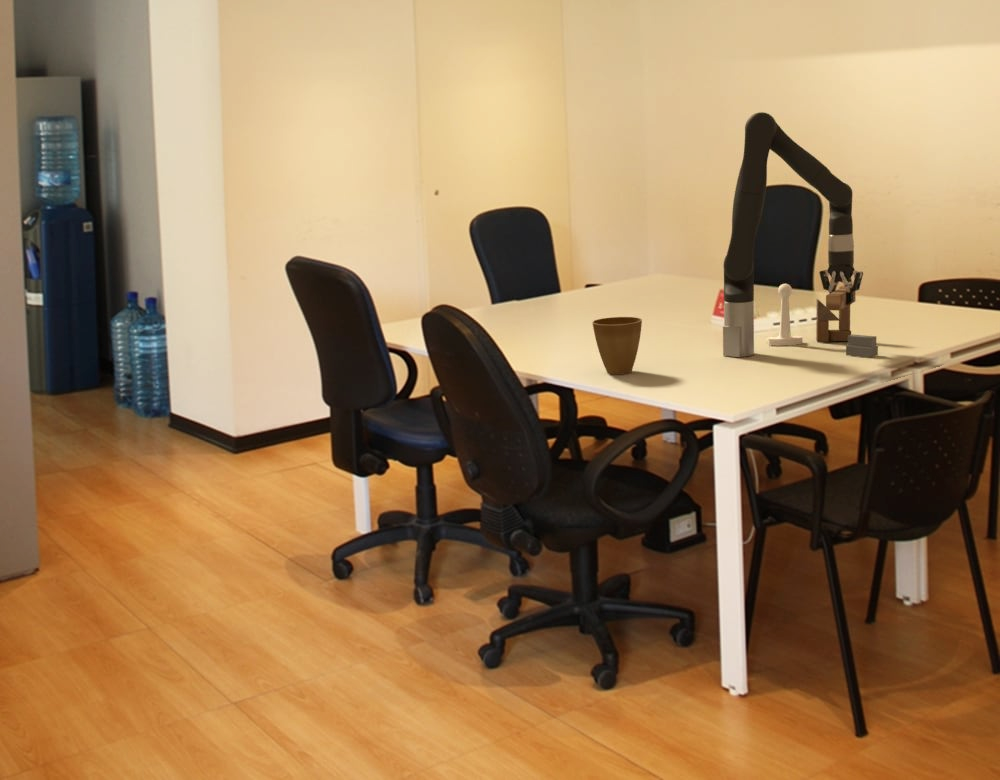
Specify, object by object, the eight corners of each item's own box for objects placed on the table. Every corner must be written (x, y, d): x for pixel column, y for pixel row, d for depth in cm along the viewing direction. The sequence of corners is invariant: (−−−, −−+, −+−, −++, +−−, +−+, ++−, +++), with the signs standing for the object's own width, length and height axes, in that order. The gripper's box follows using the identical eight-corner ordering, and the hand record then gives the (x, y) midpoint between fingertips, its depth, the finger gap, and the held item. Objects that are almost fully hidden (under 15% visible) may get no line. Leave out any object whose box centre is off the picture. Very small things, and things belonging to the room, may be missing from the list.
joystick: (770, 346, 407) (769, 285, 402) (764, 342, 414) (763, 282, 410) (803, 344, 407) (803, 283, 403) (797, 340, 414) (797, 280, 410)
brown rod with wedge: (816, 340, 412) (816, 286, 408) (849, 340, 411) (850, 285, 407) (817, 342, 409) (817, 288, 405) (851, 342, 407) (851, 287, 403)
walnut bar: (839, 310, 376) (839, 295, 375) (826, 310, 378) (825, 295, 377) (855, 301, 391) (855, 287, 390) (842, 301, 393) (842, 286, 392)
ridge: (869, 357, 381) (870, 338, 380) (846, 355, 386) (846, 336, 385) (877, 355, 384) (878, 336, 383) (854, 352, 390) (854, 333, 388)
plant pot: (639, 366, 386) (637, 315, 382) (646, 375, 371) (645, 322, 368) (591, 368, 385) (589, 317, 382) (596, 378, 371) (595, 325, 367)
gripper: (813, 249, 383) (814, 304, 387) (856, 250, 374) (856, 307, 377) (826, 247, 389) (826, 301, 392) (868, 248, 379) (868, 303, 382)
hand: (841, 303), depth 385 cm, fingers closed on walnut bar, 4 cm apart
